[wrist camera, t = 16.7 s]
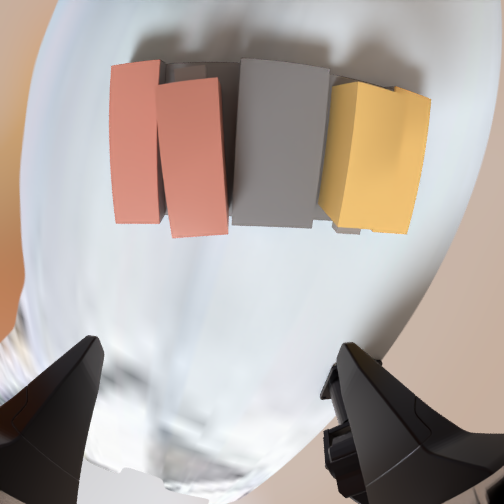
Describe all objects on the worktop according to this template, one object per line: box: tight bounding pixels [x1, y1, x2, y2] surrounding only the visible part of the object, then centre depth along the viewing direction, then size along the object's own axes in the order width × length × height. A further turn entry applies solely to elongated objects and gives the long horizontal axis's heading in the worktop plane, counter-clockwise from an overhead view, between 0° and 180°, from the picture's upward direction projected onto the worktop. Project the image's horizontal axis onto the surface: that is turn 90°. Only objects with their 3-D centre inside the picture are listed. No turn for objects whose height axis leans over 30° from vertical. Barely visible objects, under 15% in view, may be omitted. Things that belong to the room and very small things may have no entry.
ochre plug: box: [318, 81, 406, 235], centre depth 15 cm, size 9×3×4 cm, turn 176°
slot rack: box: [109, 58, 431, 234], centre depth 16 cm, size 10×20×3 cm, turn 86°
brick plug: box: [155, 65, 229, 238], centre depth 14 cm, size 9×3×4 cm, turn 2°
